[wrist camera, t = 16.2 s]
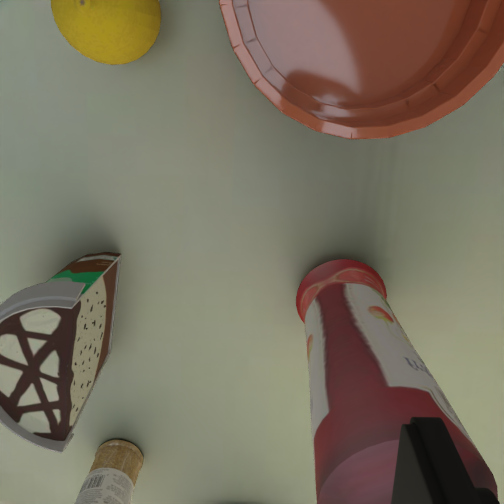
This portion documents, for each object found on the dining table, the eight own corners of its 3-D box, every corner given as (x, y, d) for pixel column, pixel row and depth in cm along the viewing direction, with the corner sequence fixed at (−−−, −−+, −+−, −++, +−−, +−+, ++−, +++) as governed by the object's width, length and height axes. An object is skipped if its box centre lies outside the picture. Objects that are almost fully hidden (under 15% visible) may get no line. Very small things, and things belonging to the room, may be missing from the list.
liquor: (275, 276, 36) (303, 832, 10) (360, 233, 34) (653, 759, 8) (318, 345, 38) (430, 938, 12) (400, 307, 37) (722, 897, 11)
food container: (42, 219, 34) (-40, 277, 25) (123, 236, 35) (72, 299, 26) (37, 352, 39) (-33, 442, 30) (108, 366, 40) (61, 459, 30)
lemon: (108, -54, 28) (51, -96, 20) (187, 1, 29) (161, -19, 21) (71, 32, 29) (6, 22, 22) (147, 81, 30) (110, 87, 23)
